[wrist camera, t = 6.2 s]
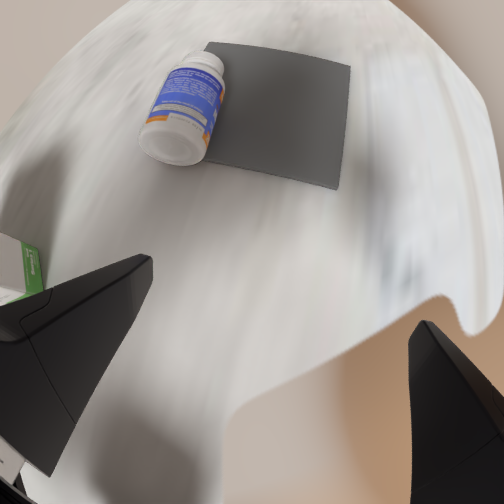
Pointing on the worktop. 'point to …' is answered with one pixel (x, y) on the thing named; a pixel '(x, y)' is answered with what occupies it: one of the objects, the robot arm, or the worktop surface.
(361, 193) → the worktop surface
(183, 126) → the pill bottle
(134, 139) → the worktop surface
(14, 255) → the ink box
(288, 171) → the rubber mat
